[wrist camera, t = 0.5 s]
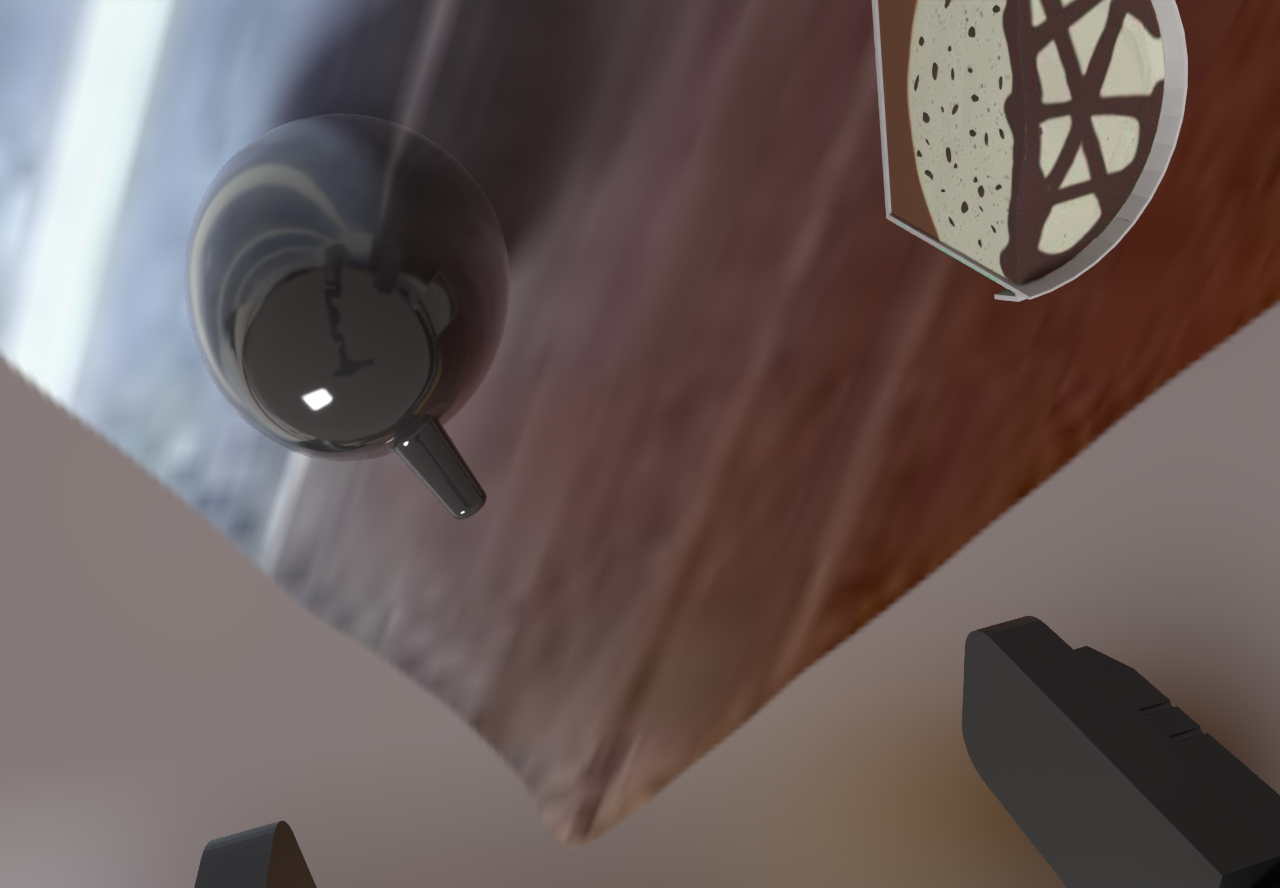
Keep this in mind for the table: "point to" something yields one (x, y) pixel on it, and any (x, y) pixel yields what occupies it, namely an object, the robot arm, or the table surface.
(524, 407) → the table surface
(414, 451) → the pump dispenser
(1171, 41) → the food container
